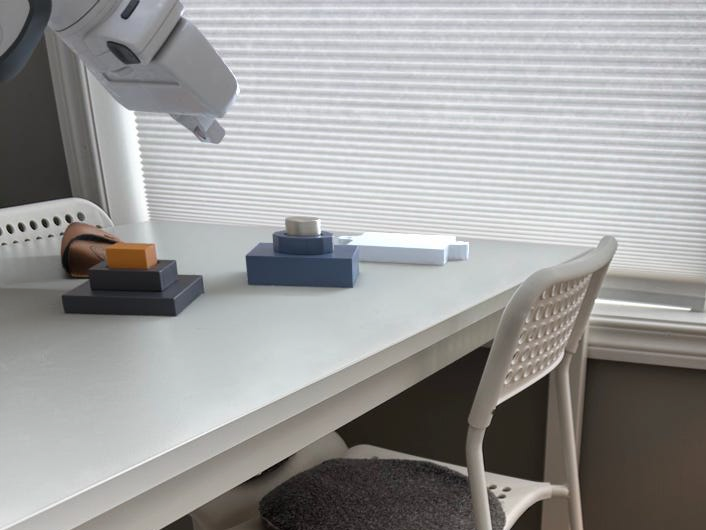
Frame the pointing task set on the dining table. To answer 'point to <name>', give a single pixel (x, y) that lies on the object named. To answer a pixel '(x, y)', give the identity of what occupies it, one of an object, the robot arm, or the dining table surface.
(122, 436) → the dining table surface
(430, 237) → the mounting plate
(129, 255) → the orange square flat block
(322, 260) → the key block
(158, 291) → the key block
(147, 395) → the dining table surface
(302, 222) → the silver short cylinder
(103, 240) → the sunglasses case
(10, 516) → the dining table surface
